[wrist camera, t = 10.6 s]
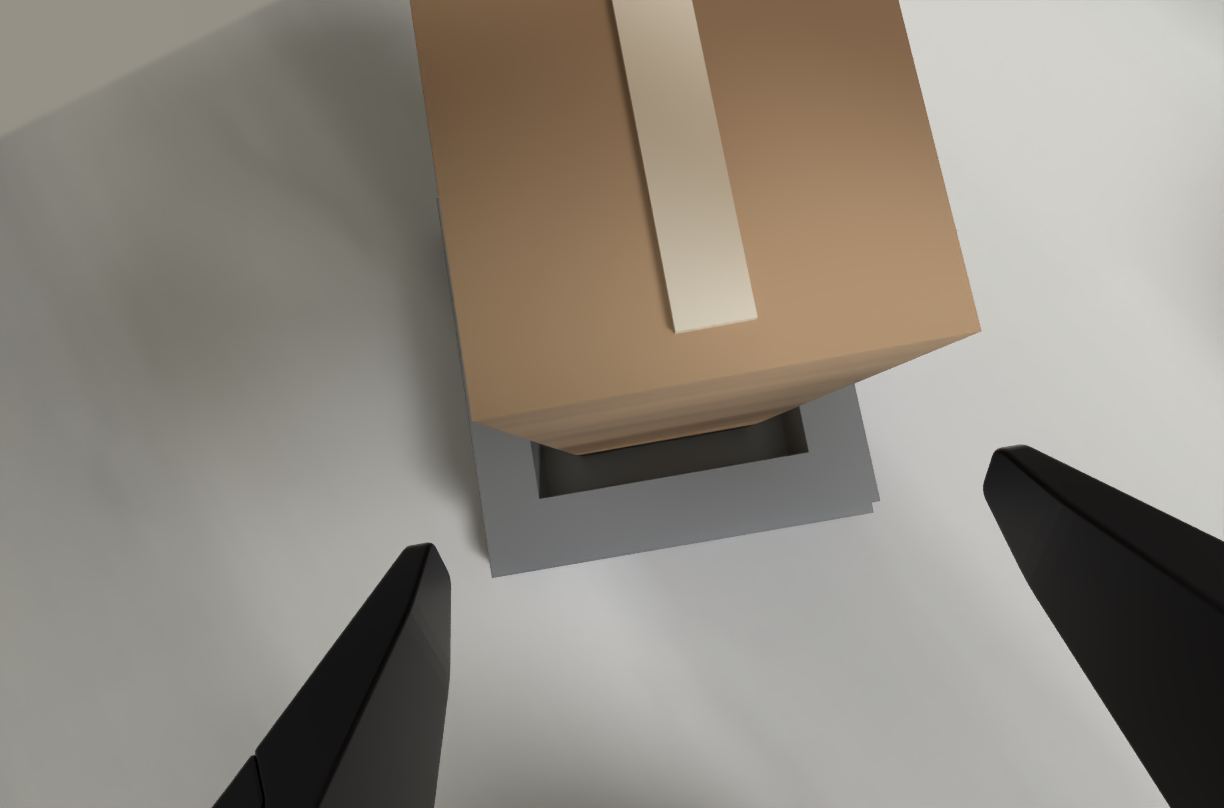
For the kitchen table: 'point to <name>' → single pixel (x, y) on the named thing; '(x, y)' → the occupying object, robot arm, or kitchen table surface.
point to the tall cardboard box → (682, 210)
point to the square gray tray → (668, 485)
